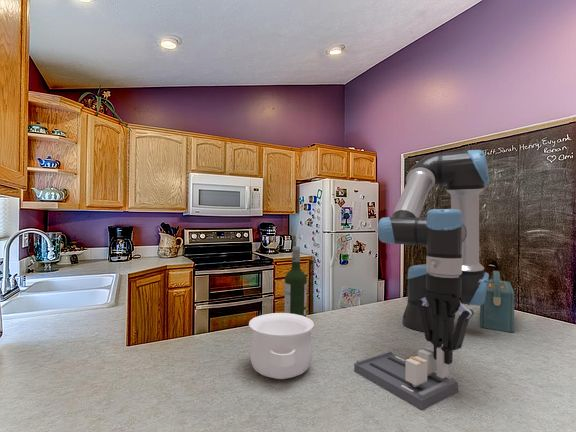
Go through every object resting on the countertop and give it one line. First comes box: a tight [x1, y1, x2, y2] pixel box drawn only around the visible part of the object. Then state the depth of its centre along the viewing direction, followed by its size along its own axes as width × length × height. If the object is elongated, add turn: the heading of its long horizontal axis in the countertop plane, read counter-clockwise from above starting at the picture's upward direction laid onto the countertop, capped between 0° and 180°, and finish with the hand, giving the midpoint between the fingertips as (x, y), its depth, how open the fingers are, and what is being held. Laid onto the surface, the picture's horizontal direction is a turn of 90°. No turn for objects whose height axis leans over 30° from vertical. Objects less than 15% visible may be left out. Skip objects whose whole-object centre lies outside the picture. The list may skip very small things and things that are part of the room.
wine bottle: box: [283, 245, 308, 317], centre depth 115 cm, size 8×8×30 cm
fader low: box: [405, 355, 427, 388], centre depth 72 cm, size 3×4×6 cm
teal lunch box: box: [479, 270, 515, 333], centre depth 127 cm, size 26×11×20 cm, turn 148°
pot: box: [248, 312, 315, 380], centre depth 84 cm, size 22×17×12 cm
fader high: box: [417, 347, 437, 376], centre depth 77 cm, size 3×4×6 cm
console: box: [353, 349, 460, 411], centre depth 79 cm, size 20×14×3 cm
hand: (442, 375), depth 74 cm, fingers closed
